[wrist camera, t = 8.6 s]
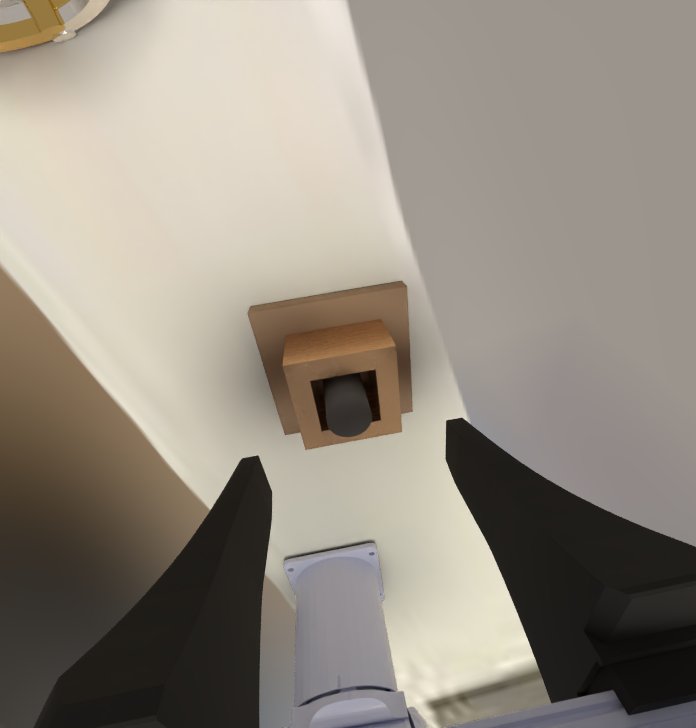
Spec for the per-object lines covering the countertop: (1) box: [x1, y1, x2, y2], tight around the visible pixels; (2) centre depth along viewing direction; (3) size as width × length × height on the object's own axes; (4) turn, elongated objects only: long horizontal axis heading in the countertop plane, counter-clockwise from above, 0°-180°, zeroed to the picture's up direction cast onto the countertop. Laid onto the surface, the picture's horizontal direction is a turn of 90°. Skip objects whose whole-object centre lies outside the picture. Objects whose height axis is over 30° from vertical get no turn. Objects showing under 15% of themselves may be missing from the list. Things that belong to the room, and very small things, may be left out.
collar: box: [283, 319, 402, 450], centre depth 17 cm, size 5×5×3 cm
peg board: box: [248, 281, 413, 437], centre depth 17 cm, size 8×8×6 cm
